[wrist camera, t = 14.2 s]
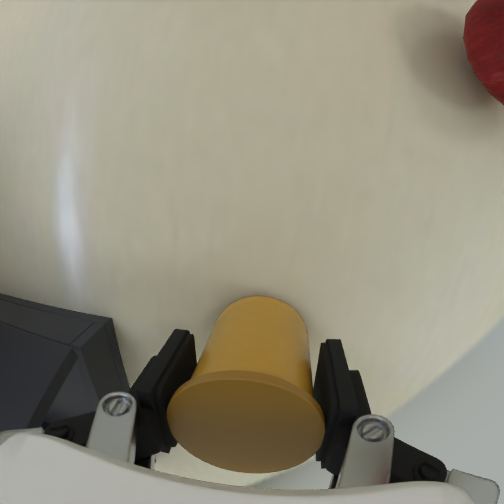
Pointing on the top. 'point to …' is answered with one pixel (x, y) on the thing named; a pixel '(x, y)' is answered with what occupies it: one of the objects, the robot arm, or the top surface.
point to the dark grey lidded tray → (85, 346)
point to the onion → (486, 44)
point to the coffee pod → (251, 392)
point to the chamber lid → (30, 377)
